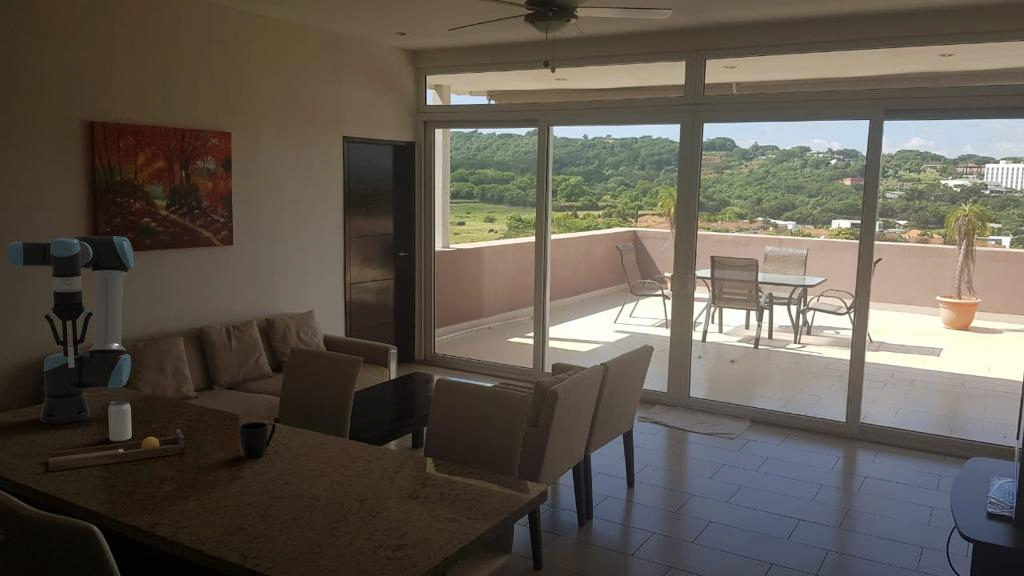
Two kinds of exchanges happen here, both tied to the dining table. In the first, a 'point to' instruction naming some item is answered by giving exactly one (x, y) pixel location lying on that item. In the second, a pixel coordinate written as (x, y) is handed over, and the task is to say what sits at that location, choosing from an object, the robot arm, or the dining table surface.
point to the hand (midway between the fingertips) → (71, 366)
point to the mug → (255, 438)
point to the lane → (114, 453)
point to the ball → (150, 443)
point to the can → (119, 421)
